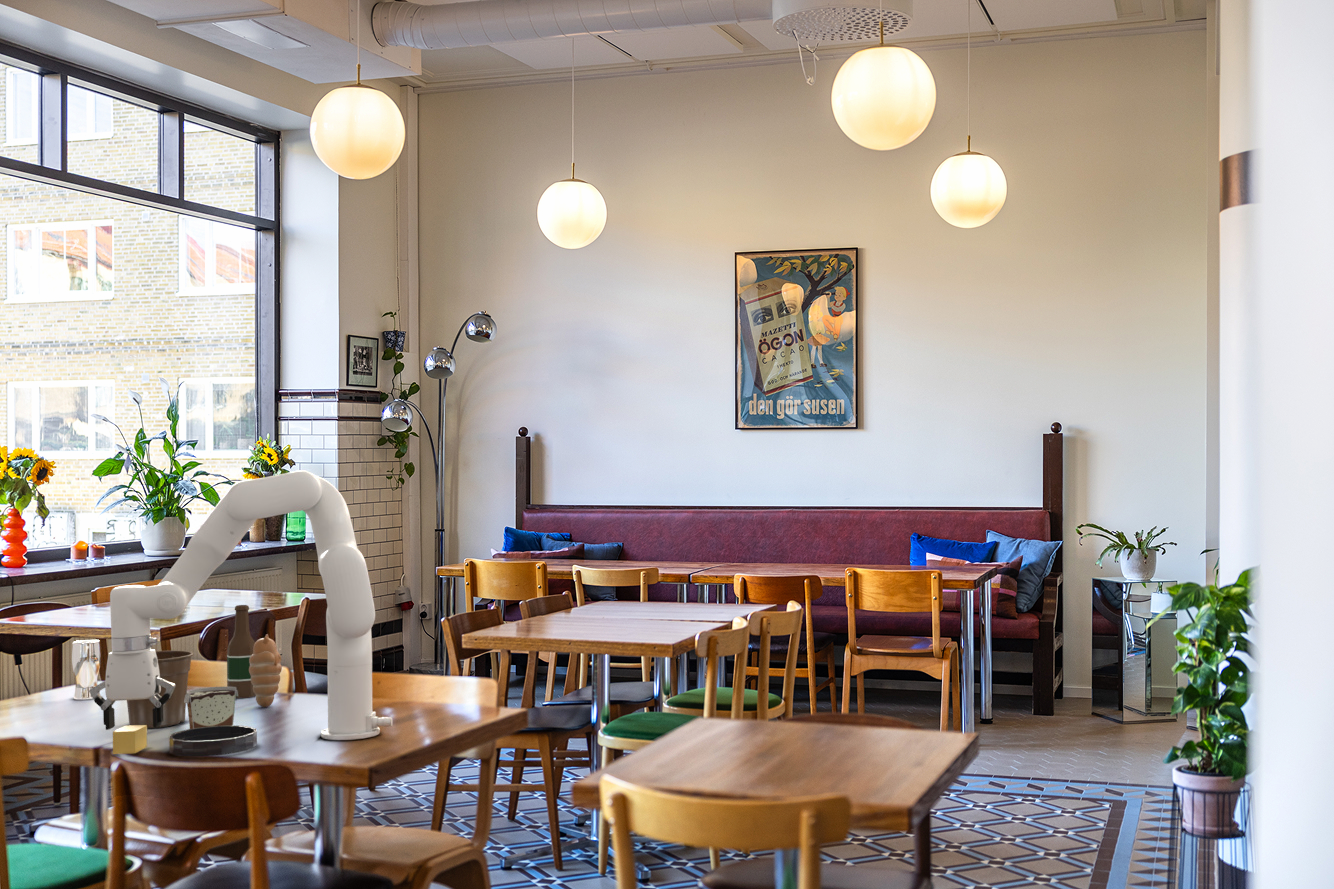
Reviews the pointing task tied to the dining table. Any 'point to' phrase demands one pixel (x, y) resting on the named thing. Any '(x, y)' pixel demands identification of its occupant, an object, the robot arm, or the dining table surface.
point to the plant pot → (174, 671)
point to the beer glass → (85, 667)
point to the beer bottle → (240, 655)
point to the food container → (211, 706)
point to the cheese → (129, 739)
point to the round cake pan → (212, 740)
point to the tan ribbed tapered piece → (265, 670)
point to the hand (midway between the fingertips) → (133, 727)
